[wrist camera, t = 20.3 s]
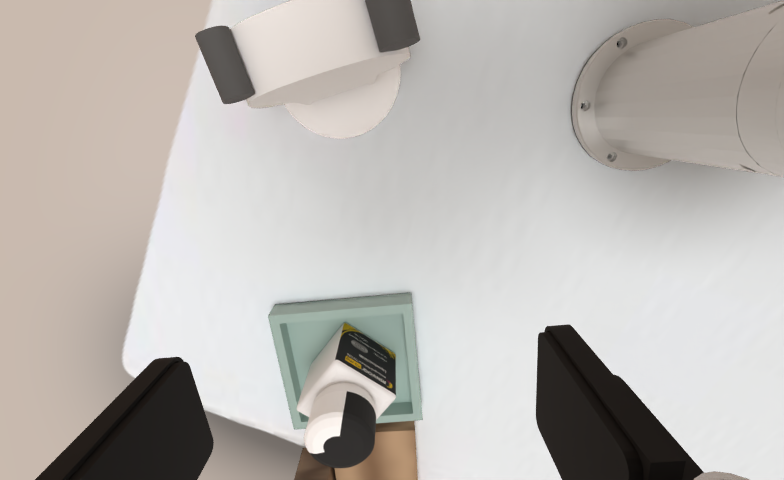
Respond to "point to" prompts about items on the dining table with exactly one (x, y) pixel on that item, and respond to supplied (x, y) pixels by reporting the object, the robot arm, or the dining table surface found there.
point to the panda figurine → (316, 61)
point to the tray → (320, 323)
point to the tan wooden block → (387, 455)
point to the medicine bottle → (346, 397)
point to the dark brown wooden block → (313, 469)
